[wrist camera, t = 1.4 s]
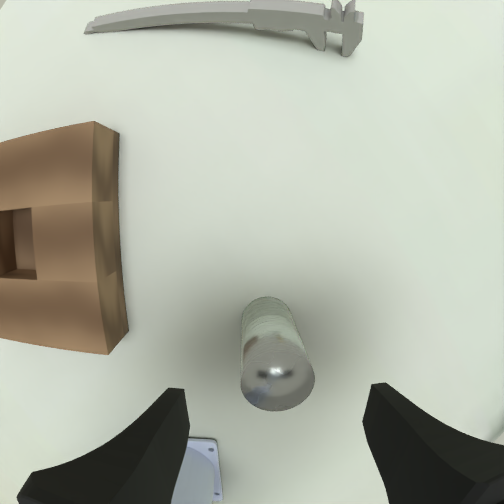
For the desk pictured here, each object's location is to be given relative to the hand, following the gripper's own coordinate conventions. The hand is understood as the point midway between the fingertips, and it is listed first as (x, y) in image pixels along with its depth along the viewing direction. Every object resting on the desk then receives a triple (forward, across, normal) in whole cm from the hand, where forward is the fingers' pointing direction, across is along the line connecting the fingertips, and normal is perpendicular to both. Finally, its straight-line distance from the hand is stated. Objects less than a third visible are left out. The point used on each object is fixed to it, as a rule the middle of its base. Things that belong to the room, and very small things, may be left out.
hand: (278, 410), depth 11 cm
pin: (+11, 0, +1) cm, 11 cm away
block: (+10, +17, -5) cm, 21 cm away
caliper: (+12, +4, -20) cm, 24 cm away
